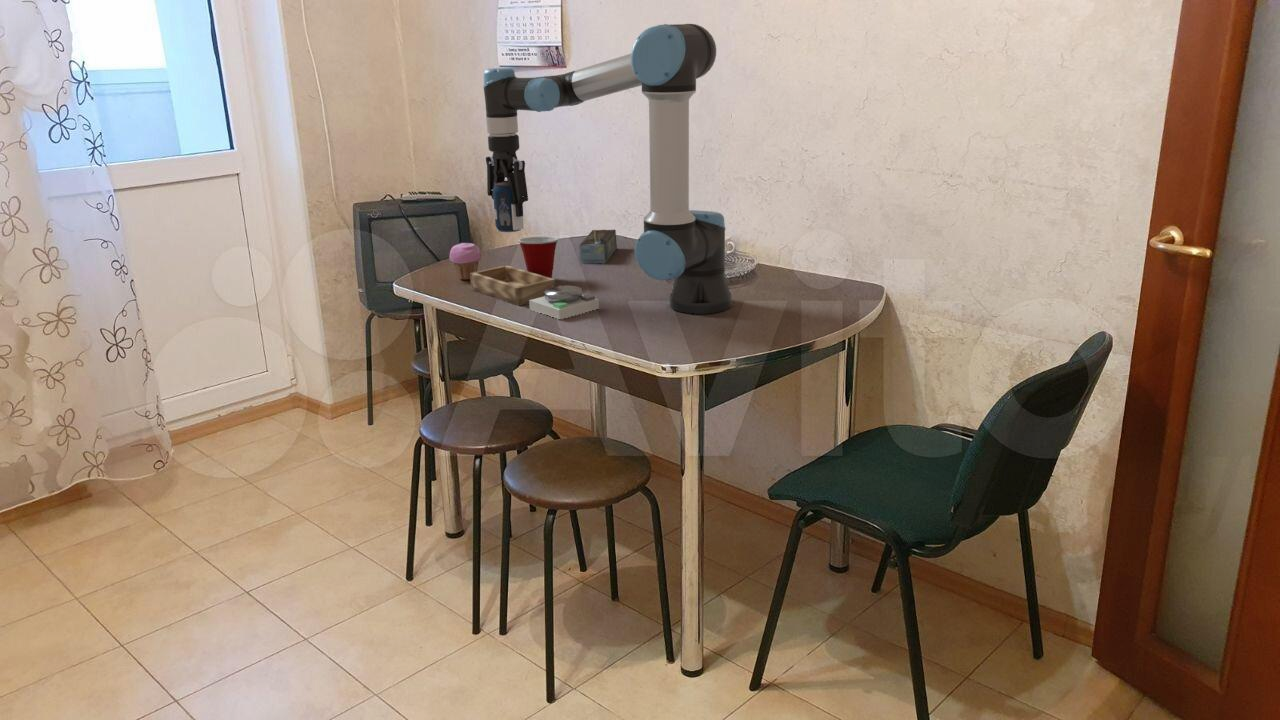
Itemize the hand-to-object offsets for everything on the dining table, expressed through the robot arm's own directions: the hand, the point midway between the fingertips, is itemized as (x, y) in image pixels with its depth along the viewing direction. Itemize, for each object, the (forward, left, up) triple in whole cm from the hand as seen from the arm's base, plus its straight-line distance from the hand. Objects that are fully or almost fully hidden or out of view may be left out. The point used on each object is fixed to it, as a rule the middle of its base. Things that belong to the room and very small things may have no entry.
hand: (509, 226), depth 237 cm
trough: (+1, 0, -18) cm, 18 cm away
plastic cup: (+5, -12, -18) cm, 22 cm away
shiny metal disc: (-21, 0, -14) cm, 25 cm away
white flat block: (-21, 0, -18) cm, 27 cm away
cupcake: (+23, 0, -18) cm, 29 cm away
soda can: (0, 0, -1) cm, 1 cm away
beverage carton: (+16, -41, -18) cm, 48 cm away
